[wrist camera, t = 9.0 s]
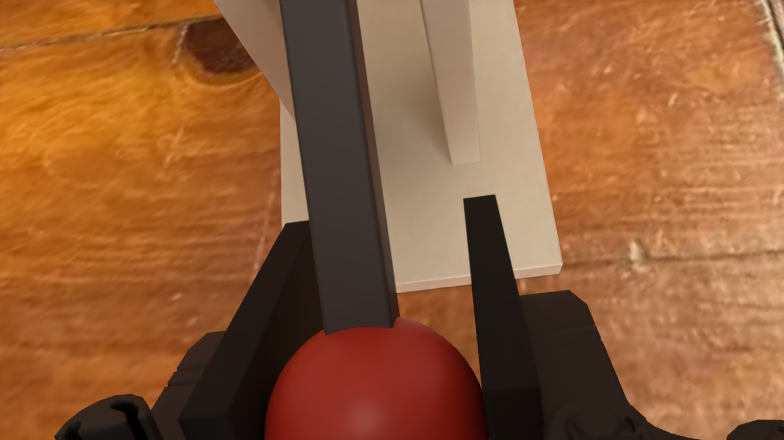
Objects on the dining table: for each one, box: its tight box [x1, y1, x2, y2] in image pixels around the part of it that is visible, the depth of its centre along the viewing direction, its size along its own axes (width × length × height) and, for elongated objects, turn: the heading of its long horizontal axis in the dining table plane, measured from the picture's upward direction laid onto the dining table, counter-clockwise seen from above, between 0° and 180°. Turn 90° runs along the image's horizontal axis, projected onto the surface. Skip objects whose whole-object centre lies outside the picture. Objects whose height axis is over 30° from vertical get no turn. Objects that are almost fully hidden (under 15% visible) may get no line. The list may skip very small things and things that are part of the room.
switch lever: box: [264, 0, 489, 440], centre depth 9 cm, size 14×4×4 cm, turn 5°
